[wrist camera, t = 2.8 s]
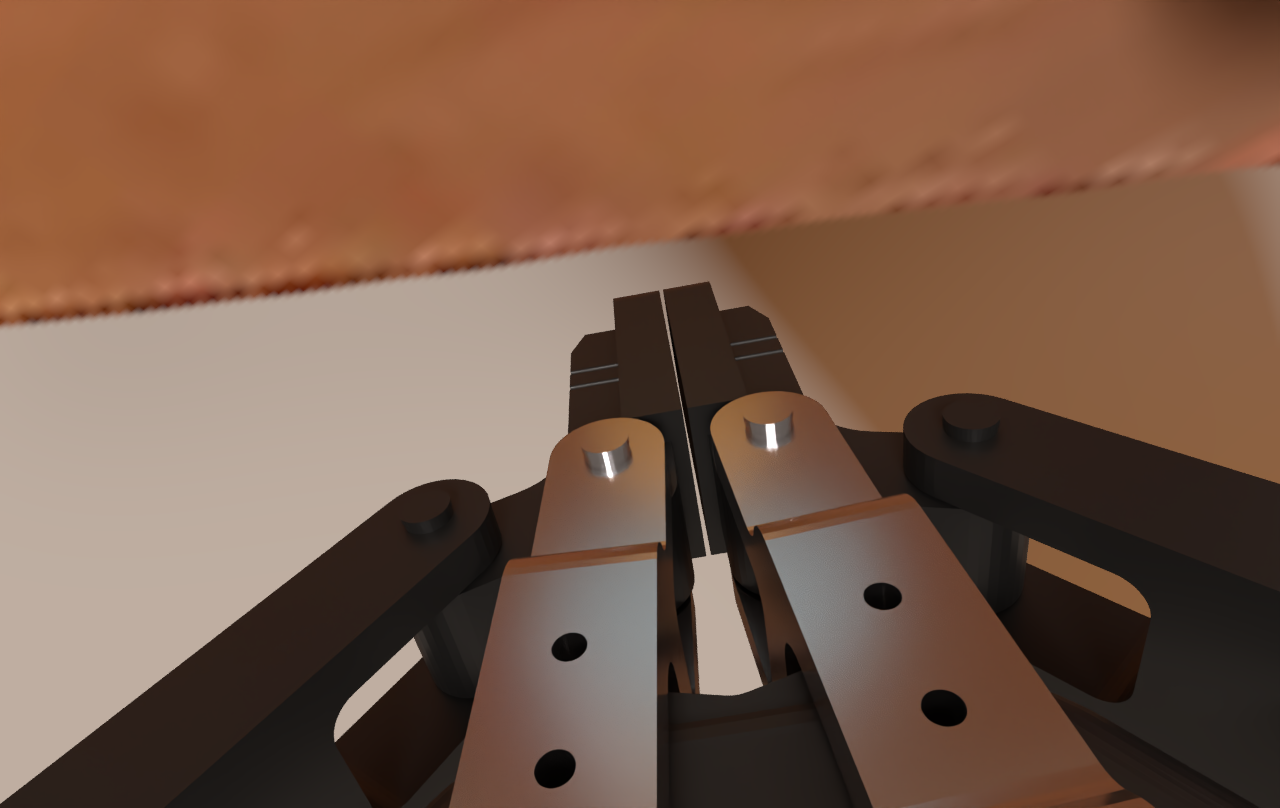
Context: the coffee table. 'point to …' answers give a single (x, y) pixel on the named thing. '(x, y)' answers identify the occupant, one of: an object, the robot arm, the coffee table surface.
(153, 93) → the coffee table surface
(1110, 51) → the coffee table surface
